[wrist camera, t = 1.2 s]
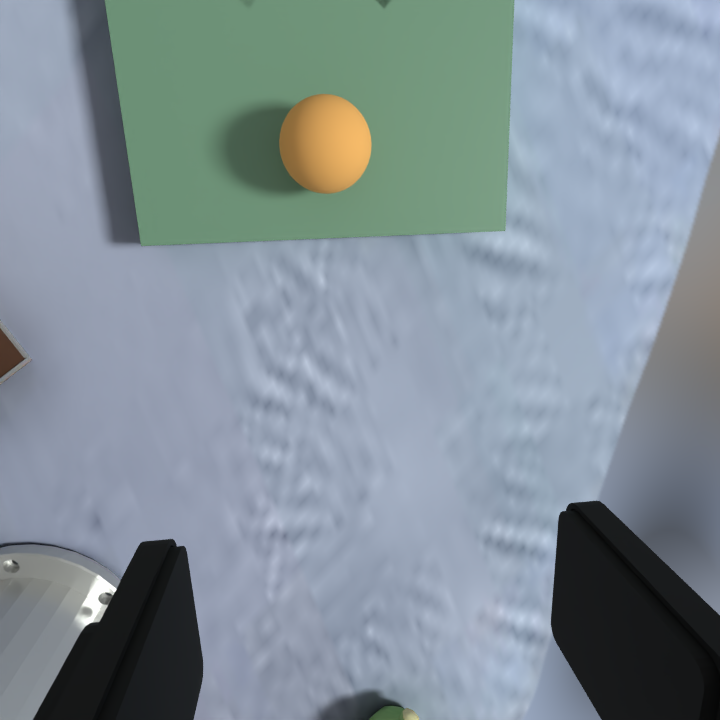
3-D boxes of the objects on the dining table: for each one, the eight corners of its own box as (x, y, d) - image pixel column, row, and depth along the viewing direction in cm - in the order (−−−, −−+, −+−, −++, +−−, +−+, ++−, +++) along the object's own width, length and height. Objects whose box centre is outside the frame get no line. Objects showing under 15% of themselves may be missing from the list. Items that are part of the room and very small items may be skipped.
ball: (367, 194, 25) (378, 189, 21) (284, 197, 25) (280, 193, 21) (364, 104, 24) (375, 82, 20) (278, 105, 23) (272, 83, 20)
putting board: (491, 230, 28) (505, 230, 26) (153, 243, 26) (141, 245, 25) (506, -237, 23) (525, -279, 21) (82, -253, 21) (60, -300, 19)
